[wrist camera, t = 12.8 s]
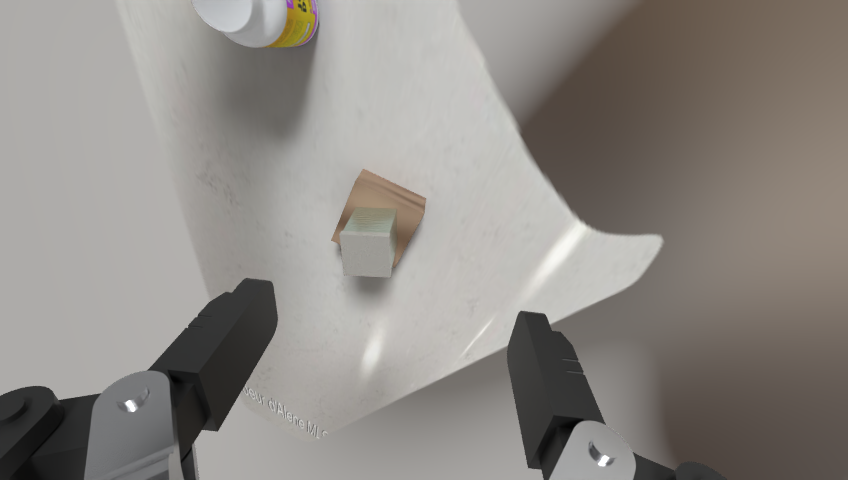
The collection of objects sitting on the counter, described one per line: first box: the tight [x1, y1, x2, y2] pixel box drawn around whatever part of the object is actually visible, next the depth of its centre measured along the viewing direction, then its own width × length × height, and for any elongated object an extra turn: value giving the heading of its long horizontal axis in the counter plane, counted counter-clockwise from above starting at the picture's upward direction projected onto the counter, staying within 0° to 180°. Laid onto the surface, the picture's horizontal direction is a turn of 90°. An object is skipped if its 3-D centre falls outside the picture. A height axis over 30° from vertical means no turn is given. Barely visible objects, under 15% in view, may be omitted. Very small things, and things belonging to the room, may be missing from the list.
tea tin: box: [339, 207, 397, 278], centre depth 40 cm, size 5×5×7 cm
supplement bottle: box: [191, 0, 319, 48], centre depth 31 cm, size 7×7×13 cm
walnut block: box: [331, 169, 426, 268], centre depth 45 cm, size 9×9×5 cm
